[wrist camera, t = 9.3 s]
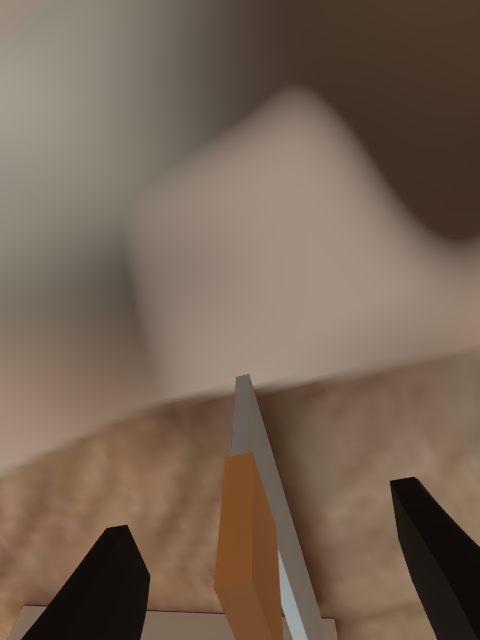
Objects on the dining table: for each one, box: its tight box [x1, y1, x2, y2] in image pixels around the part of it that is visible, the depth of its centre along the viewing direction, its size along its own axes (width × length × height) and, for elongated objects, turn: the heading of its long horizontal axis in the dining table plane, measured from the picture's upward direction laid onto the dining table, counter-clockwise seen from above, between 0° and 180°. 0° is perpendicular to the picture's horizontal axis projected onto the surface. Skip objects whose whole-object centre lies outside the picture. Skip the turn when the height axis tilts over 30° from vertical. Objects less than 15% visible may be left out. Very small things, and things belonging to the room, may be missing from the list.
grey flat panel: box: [214, 374, 324, 640], centre depth 15 cm, size 14×1×9 cm, turn 15°
